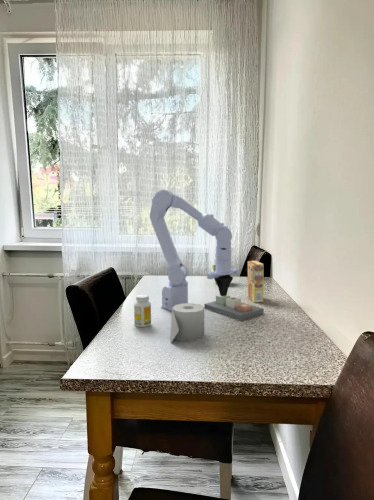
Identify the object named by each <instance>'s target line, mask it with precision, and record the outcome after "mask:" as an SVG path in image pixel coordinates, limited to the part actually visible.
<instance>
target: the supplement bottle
mask: <svg viewBox="0 0 374 500" xmlns="http://www.w3.org/2000/svg"><path fill="white" fill-rule="evenodd" d="M149 299H150V296H149V295H148V294H145V293H144V294H143V293H142V294H137V295H136V297H135V300H136V301H135V302H134V305H133V307H134V308H133V310H134V311H133V313H134V315H133V316H134V326H135V327H139V328H146V327H149V326H151V324H152V304H151V302H150V301H149Z"/></svg>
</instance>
